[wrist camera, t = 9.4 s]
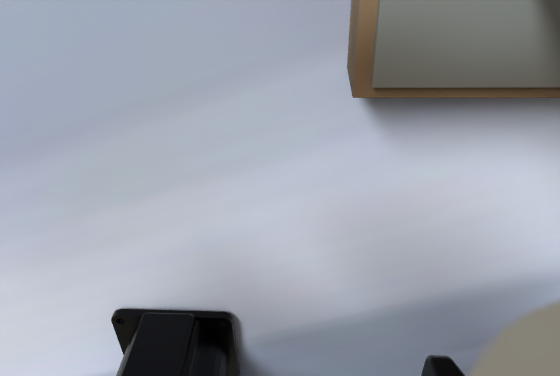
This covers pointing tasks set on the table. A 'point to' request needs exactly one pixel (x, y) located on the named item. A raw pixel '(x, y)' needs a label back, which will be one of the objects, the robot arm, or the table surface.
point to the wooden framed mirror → (454, 49)
